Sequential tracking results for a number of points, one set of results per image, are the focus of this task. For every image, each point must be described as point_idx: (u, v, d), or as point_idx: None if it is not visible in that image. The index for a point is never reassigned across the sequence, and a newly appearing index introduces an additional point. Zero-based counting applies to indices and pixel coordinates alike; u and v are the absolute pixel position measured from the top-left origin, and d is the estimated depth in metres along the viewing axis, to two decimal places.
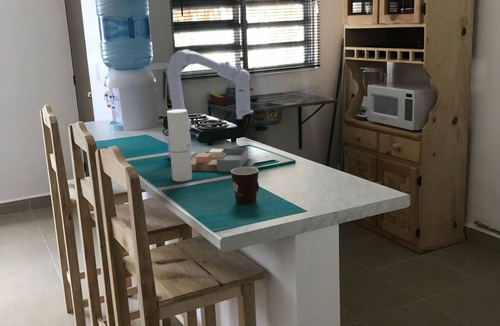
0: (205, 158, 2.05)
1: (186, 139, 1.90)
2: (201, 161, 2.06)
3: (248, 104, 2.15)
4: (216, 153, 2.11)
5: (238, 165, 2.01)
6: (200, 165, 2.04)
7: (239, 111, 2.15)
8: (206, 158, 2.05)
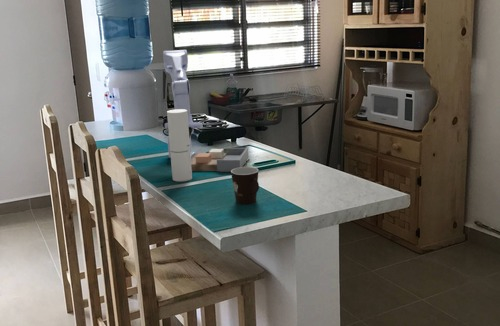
0: (205, 158, 2.05)
1: (186, 139, 1.90)
2: (201, 161, 2.06)
3: None
4: (216, 153, 2.11)
5: (238, 165, 2.01)
6: (200, 165, 2.04)
7: None
8: (206, 158, 2.05)
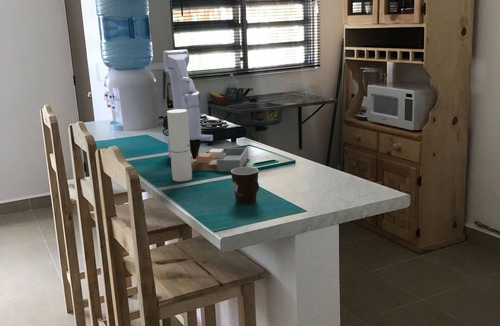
0: (206, 158, 2.05)
1: (186, 139, 1.90)
2: (202, 161, 2.06)
3: None
4: (216, 153, 2.11)
5: (238, 165, 2.01)
6: (200, 165, 2.04)
7: None
8: (207, 158, 2.05)
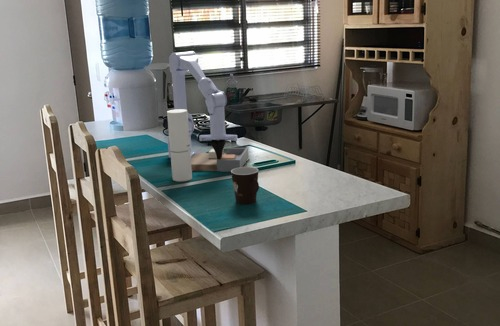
0: (231, 159, 2.04)
1: (186, 139, 1.90)
2: None
3: (213, 129, 2.01)
4: None
5: (238, 165, 2.01)
6: (200, 165, 2.04)
7: None
8: (232, 159, 2.04)
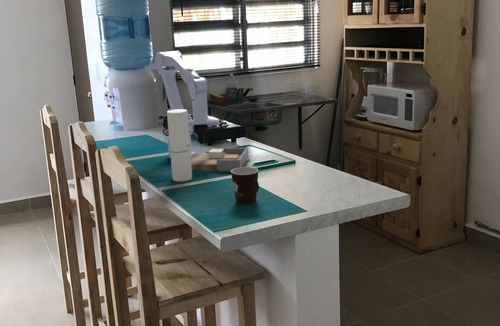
0: (234, 159, 2.04)
1: (186, 139, 1.90)
2: None
3: (195, 114, 2.07)
4: (216, 153, 2.11)
5: (238, 165, 2.01)
6: (200, 165, 2.04)
7: None
8: (235, 159, 2.04)
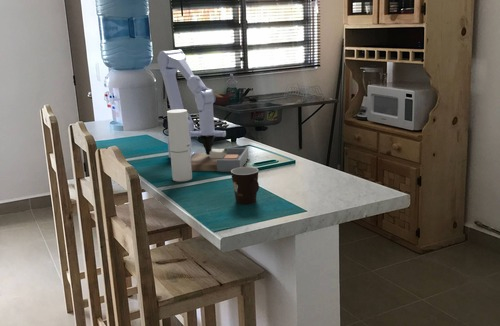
0: (234, 159, 2.04)
1: (186, 139, 1.90)
2: None
3: (202, 125, 2.09)
4: (217, 153, 2.11)
5: (238, 165, 2.01)
6: (200, 165, 2.04)
7: None
8: (235, 159, 2.04)
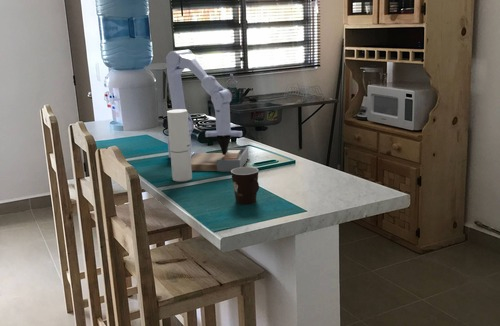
0: (234, 159, 2.04)
1: (186, 139, 1.90)
2: None
3: (218, 125, 2.08)
4: (233, 154, 2.10)
5: (238, 165, 2.01)
6: (200, 165, 2.04)
7: None
8: (235, 159, 2.04)
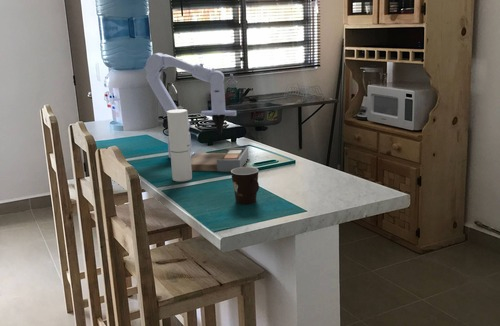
0: (234, 159, 2.04)
1: (186, 139, 1.90)
2: None
3: (214, 105, 2.19)
4: (235, 154, 2.10)
5: (238, 165, 2.01)
6: (200, 165, 2.04)
7: None
8: (235, 159, 2.04)
